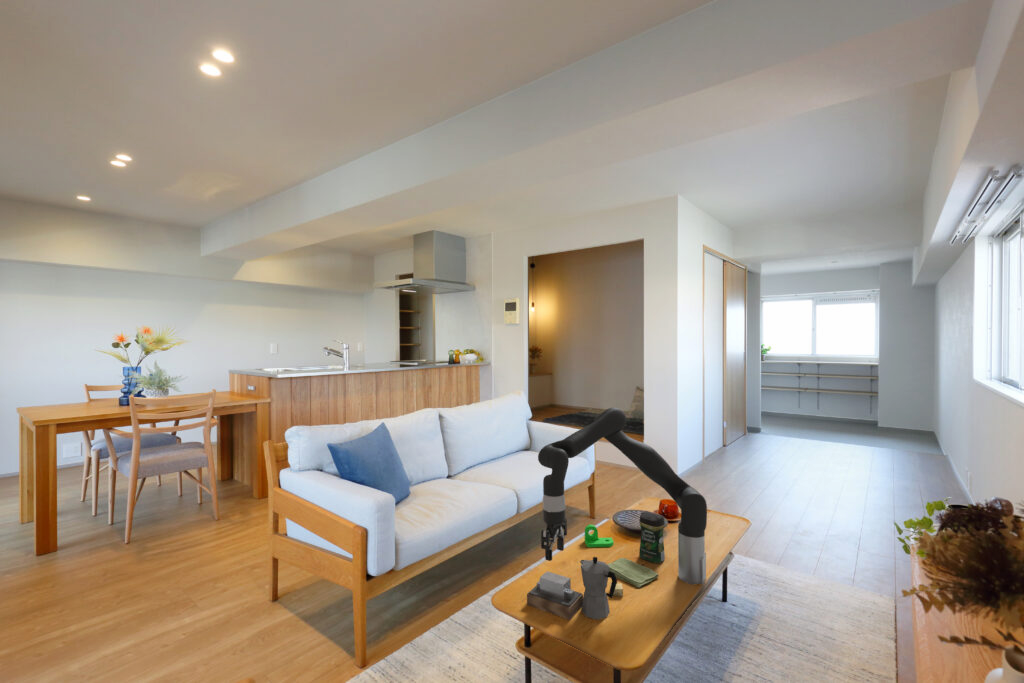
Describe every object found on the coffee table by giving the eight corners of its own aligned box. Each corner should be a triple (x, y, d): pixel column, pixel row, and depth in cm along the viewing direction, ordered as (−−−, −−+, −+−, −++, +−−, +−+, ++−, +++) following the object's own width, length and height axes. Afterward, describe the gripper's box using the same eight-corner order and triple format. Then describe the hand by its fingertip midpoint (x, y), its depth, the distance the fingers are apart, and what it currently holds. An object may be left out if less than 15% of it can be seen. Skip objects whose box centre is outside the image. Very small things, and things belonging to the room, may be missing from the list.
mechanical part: (587, 548, 202) (587, 530, 201) (584, 542, 207) (584, 524, 207) (615, 548, 202) (614, 529, 202) (611, 541, 208) (611, 523, 208)
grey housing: (541, 584, 164) (541, 569, 164) (576, 594, 157) (576, 579, 157) (534, 590, 159) (534, 575, 159) (569, 601, 152) (569, 586, 152)
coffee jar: (636, 558, 192) (636, 512, 192) (646, 552, 198) (645, 507, 197) (658, 566, 185) (658, 519, 185) (667, 559, 191) (667, 513, 191)
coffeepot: (570, 608, 156) (570, 554, 156) (589, 598, 162) (589, 546, 162) (607, 630, 145) (606, 572, 144) (626, 618, 150) (625, 562, 150)
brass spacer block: (621, 591, 167) (621, 583, 167) (622, 598, 163) (622, 589, 163) (610, 591, 167) (610, 582, 167) (611, 597, 163) (611, 588, 163)
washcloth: (640, 591, 168) (640, 582, 168) (601, 572, 181) (601, 564, 181) (660, 579, 176) (660, 570, 176) (621, 562, 190) (621, 554, 190)
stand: (583, 605, 158) (582, 592, 158) (570, 620, 149) (570, 607, 149) (541, 592, 167) (541, 579, 167) (526, 605, 158) (526, 592, 158)
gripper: (553, 498, 166) (554, 544, 166) (533, 511, 154) (534, 560, 154) (573, 502, 162) (574, 549, 162) (554, 515, 150) (554, 566, 150)
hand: (554, 555), depth 158 cm, fingers open, 8 cm apart
